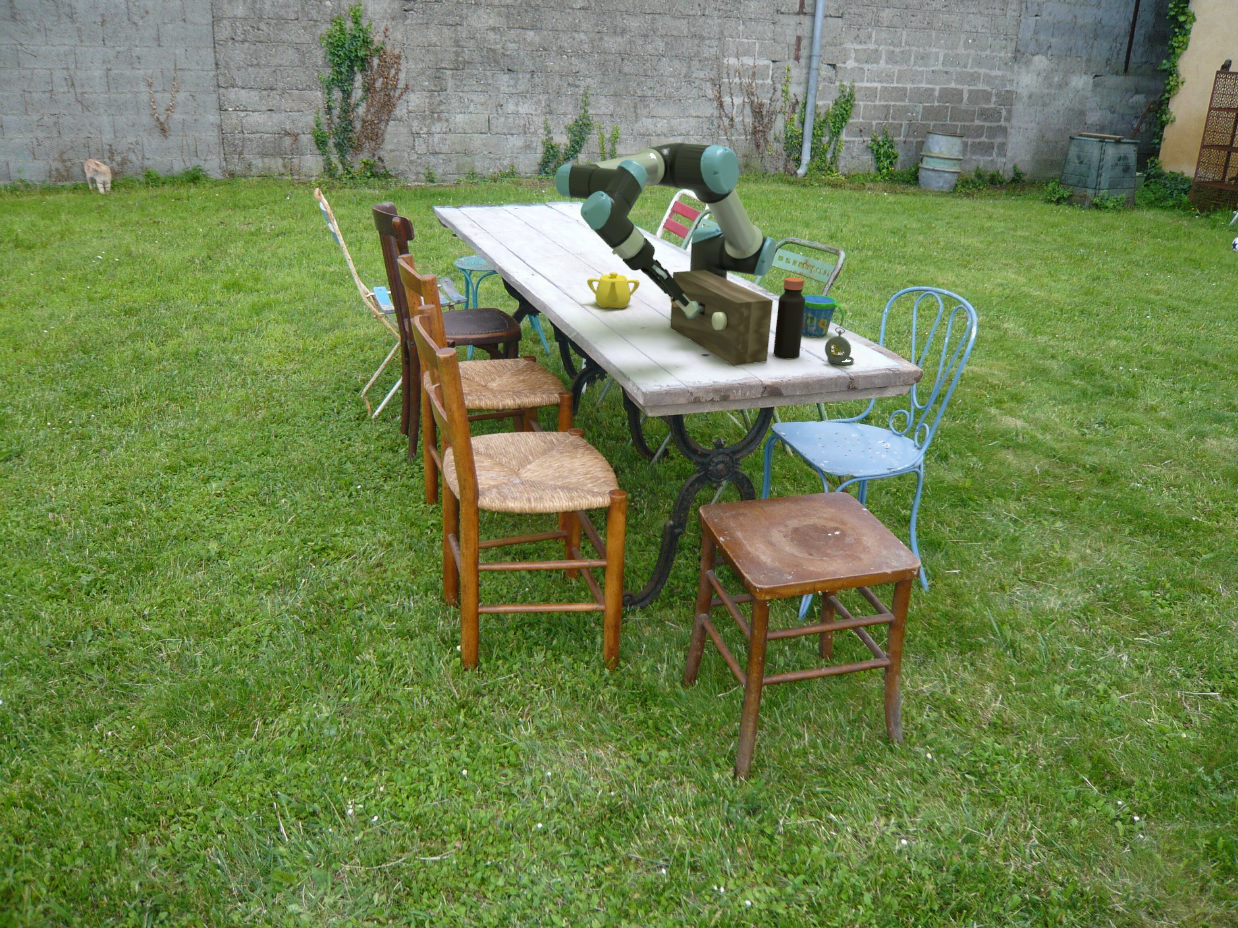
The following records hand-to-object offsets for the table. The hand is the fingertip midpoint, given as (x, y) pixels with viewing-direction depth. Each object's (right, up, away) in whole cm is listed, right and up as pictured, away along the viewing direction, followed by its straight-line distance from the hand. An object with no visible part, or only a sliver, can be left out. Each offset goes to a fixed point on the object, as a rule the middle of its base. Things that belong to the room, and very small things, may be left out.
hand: (692, 312), depth 228 cm
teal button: (+2, +1, +15) cm, 15 cm away
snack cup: (+37, -1, +32) cm, 49 cm away
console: (+8, -5, +21) cm, 23 cm away
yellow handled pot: (-20, +11, +55) cm, 59 cm away
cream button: (+9, -3, +6) cm, 11 cm away
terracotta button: (-1, +6, +26) cm, 27 cm away
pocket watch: (+38, -12, +8) cm, 41 cm away
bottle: (+26, -9, +13) cm, 30 cm away
